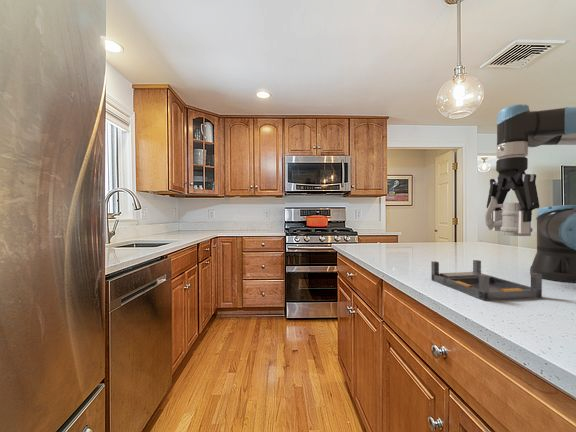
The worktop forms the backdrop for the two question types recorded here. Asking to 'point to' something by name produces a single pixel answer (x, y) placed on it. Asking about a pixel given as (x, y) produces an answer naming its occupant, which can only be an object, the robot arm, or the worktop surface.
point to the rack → (487, 284)
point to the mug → (505, 218)
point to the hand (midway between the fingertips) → (510, 231)
